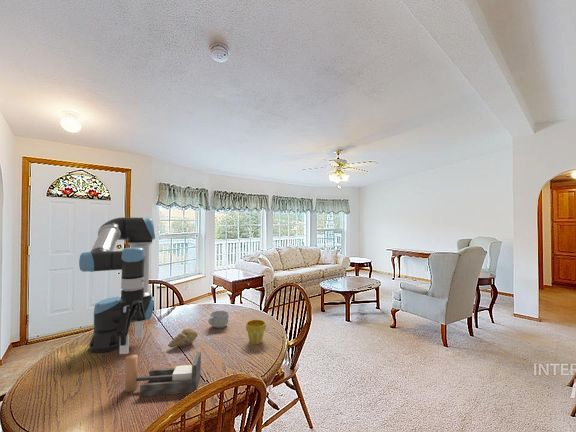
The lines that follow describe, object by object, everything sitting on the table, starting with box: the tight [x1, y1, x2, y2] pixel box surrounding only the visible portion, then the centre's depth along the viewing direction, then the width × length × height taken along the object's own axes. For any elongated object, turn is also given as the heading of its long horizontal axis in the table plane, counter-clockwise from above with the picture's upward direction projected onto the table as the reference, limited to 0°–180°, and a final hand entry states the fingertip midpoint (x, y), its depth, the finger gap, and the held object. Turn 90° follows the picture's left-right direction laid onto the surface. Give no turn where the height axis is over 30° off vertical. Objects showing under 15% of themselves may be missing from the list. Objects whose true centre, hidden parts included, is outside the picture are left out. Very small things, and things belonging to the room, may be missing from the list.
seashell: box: [167, 328, 199, 348], centre depth 141 cm, size 14×8×8 cm, turn 141°
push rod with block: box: [124, 354, 192, 393], centre depth 107 cm, size 24×6×12 cm, turn 98°
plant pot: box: [245, 319, 267, 345], centre depth 147 cm, size 10×10×10 cm
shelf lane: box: [139, 351, 202, 397], centre depth 108 cm, size 20×10×10 cm, turn 98°
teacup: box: [208, 310, 230, 329], centre depth 166 cm, size 14×11×8 cm
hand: (131, 345), depth 106 cm, fingers open, 13 cm apart
